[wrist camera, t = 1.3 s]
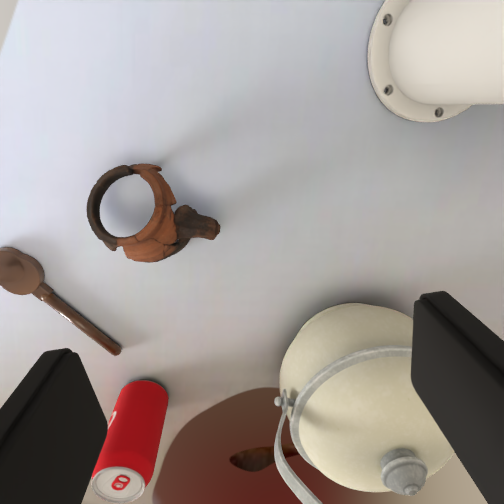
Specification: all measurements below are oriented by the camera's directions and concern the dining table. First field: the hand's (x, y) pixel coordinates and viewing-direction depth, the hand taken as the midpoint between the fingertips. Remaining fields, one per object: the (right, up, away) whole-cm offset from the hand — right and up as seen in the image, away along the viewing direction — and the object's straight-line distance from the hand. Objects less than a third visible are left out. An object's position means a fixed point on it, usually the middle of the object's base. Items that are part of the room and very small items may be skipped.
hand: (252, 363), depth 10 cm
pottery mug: (-9, +7, +27) cm, 29 cm away
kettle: (+13, -9, +35) cm, 39 cm away
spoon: (-22, -3, +30) cm, 37 cm away
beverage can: (-14, -16, +36) cm, 42 cm away
